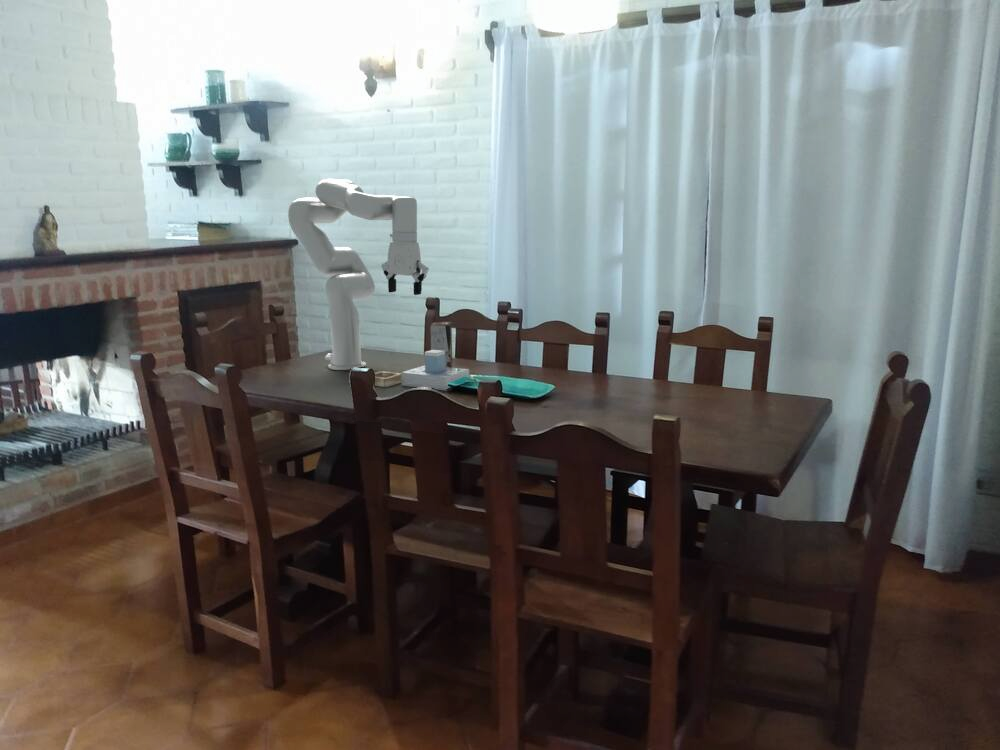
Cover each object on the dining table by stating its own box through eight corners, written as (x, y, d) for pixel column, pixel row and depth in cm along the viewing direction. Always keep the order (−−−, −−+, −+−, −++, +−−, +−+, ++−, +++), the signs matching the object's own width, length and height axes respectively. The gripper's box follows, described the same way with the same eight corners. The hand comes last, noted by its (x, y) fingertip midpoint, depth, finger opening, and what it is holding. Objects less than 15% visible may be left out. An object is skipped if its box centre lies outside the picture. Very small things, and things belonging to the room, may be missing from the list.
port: (401, 385, 230) (401, 371, 229) (426, 377, 241) (425, 363, 240) (446, 390, 223) (445, 375, 222) (469, 382, 234) (469, 368, 233)
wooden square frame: (363, 384, 232) (363, 376, 232) (381, 378, 240) (381, 371, 239) (386, 387, 228) (386, 378, 228) (404, 381, 236) (403, 373, 235)
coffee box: (451, 374, 245) (449, 325, 242) (431, 375, 245) (429, 325, 242) (453, 369, 254) (452, 321, 251) (434, 369, 254) (432, 321, 251)
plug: (425, 381, 231) (424, 351, 229) (433, 378, 235) (432, 349, 233) (437, 382, 229) (436, 353, 227) (445, 379, 233) (444, 350, 231)
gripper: (374, 236, 236) (375, 292, 239) (420, 239, 227) (420, 296, 231) (389, 236, 242) (390, 289, 246) (434, 238, 234) (434, 294, 238)
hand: (404, 293), depth 238 cm, fingers open, 9 cm apart
